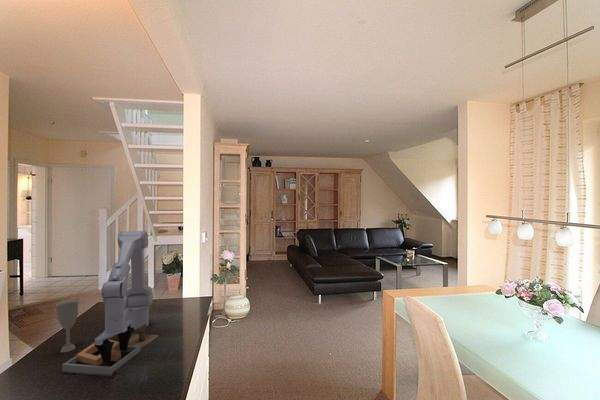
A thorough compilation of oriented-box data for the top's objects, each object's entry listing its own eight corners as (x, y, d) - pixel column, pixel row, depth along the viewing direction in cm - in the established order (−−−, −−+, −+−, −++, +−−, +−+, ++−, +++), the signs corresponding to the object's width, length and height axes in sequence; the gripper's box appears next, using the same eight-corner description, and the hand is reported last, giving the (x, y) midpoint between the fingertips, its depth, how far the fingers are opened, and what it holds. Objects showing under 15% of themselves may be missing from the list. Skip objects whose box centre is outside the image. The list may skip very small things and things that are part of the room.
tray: (62, 372, 93) (62, 364, 93) (97, 350, 107) (96, 343, 107) (111, 376, 91) (111, 368, 91) (140, 353, 104) (140, 346, 104)
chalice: (84, 348, 108) (84, 300, 108) (64, 358, 102) (64, 307, 102) (71, 345, 111) (70, 298, 111) (51, 354, 104) (50, 305, 104)
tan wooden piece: (113, 348, 108) (113, 331, 108) (132, 336, 118) (132, 320, 118) (142, 350, 107) (142, 332, 107) (159, 337, 117) (159, 321, 117)
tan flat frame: (77, 361, 98) (76, 354, 97) (102, 343, 106) (101, 337, 106) (106, 369, 94) (105, 362, 94) (130, 350, 102) (129, 344, 102)
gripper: (108, 325, 90) (109, 369, 90) (140, 308, 105) (140, 345, 105) (88, 324, 91) (89, 367, 91) (122, 307, 106) (123, 344, 106)
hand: (115, 355), depth 98 cm, fingers open, 7 cm apart
